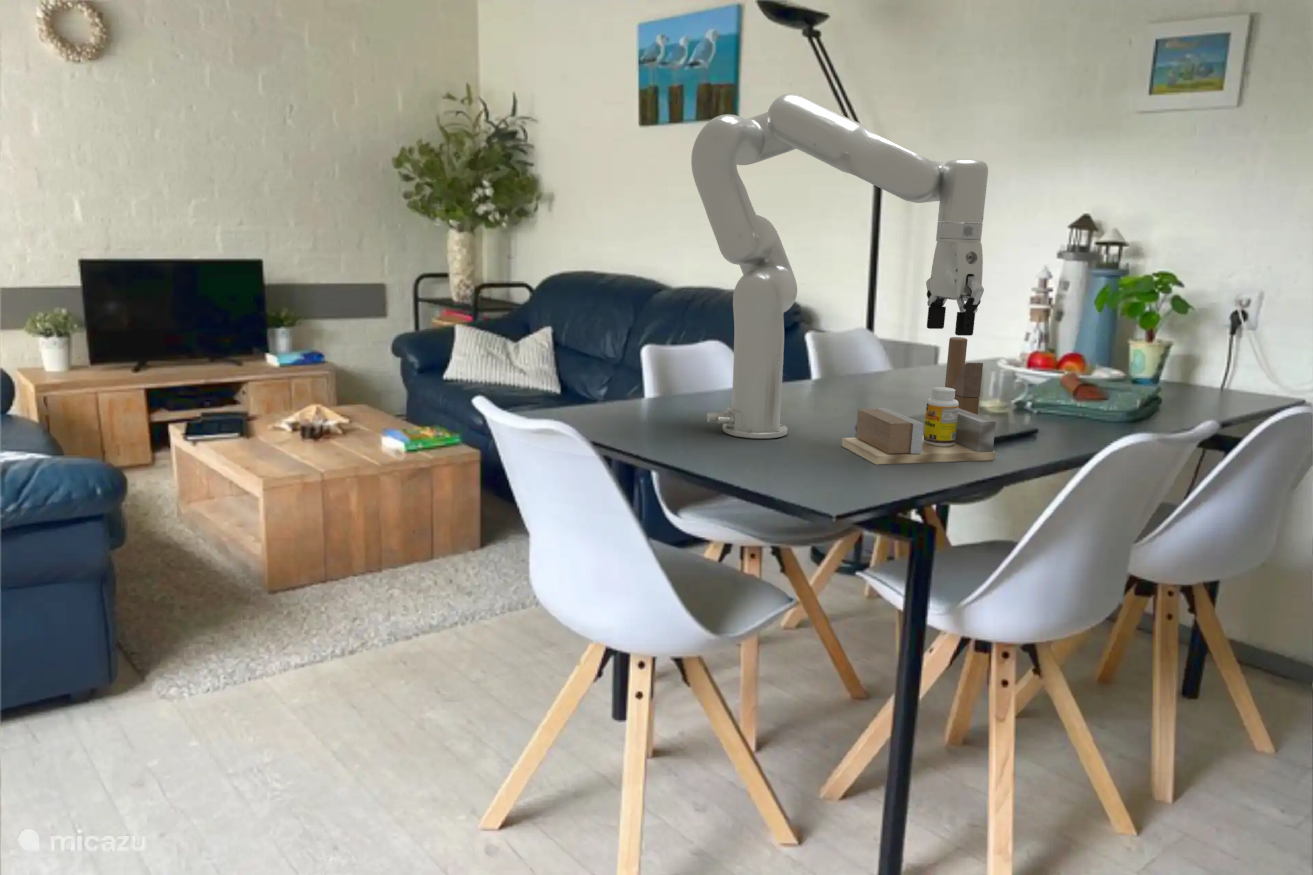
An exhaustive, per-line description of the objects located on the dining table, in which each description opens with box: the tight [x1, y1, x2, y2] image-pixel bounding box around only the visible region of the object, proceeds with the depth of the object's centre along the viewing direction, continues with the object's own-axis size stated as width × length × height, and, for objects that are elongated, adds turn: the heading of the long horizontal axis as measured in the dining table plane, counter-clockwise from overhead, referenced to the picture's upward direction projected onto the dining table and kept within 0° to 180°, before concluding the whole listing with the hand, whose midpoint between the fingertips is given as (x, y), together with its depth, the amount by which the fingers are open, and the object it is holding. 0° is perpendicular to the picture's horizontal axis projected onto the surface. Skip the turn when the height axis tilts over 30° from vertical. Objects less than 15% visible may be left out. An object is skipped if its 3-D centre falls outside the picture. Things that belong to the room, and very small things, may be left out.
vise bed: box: [841, 408, 997, 465], centre depth 176 cm, size 23×14×7 cm, turn 104°
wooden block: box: [944, 336, 984, 415], centre depth 198 cm, size 4×11×18 cm, turn 7°
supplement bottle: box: [923, 386, 959, 447], centre depth 176 cm, size 6×6×10 cm
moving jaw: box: [855, 407, 925, 454], centre depth 174 cm, size 6×14×5 cm, turn 14°
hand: (949, 331), depth 173 cm, fingers open, 9 cm apart
